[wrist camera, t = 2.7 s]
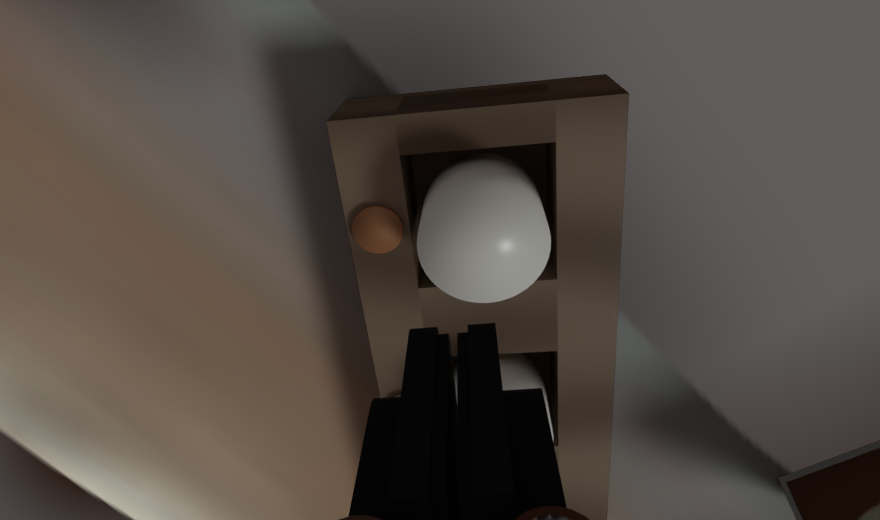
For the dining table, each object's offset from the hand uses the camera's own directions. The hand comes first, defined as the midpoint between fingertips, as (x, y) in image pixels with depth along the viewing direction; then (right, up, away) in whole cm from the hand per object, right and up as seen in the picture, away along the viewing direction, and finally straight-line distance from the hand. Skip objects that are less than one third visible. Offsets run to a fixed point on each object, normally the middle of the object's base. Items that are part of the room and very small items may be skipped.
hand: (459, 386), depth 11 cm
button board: (+2, -1, +13) cm, 13 cm away
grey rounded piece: (+1, +4, +7) cm, 8 cm away
